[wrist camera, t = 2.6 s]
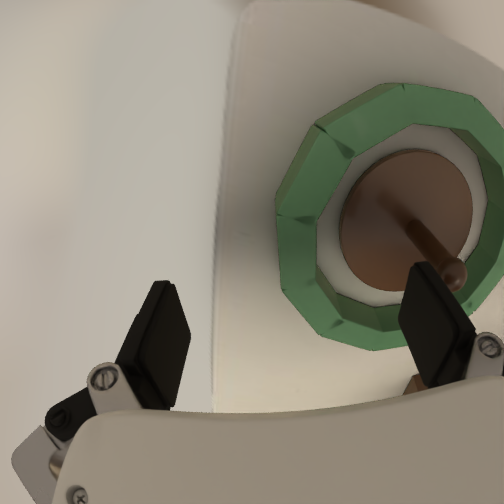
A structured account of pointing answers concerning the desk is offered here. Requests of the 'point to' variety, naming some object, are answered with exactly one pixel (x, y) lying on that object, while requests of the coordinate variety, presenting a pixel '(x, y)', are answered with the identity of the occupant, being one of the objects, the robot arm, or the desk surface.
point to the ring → (330, 174)
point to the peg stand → (407, 220)
